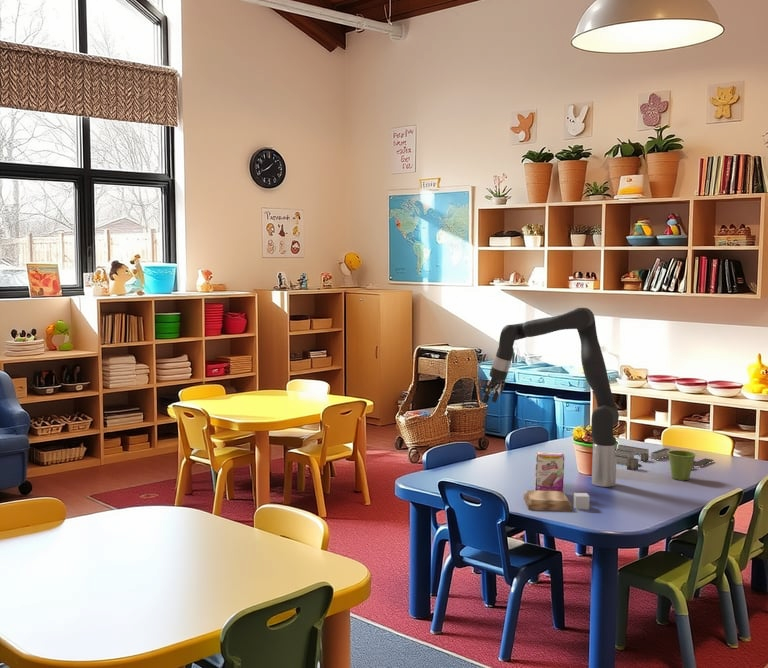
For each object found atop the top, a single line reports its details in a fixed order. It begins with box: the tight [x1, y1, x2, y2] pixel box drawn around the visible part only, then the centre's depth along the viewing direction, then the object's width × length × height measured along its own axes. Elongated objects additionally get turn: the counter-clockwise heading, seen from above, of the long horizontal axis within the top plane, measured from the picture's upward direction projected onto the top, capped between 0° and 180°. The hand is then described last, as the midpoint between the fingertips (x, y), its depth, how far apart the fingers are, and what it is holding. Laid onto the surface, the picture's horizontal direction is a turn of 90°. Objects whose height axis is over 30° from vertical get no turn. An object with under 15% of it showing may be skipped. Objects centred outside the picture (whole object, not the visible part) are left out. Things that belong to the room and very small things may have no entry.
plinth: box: [523, 489, 573, 512], centre depth 339 cm, size 16×16×4 cm
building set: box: [615, 444, 714, 471], centre depth 414 cm, size 45×43×5 cm
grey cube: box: [573, 492, 590, 510], centre depth 336 cm, size 5×5×5 cm
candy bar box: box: [534, 451, 565, 492], centre depth 354 cm, size 11×5×16 cm, turn 84°
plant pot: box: [667, 449, 697, 481], centre depth 382 cm, size 12×12×11 cm
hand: (489, 402), depth 392 cm, fingers open, 8 cm apart
